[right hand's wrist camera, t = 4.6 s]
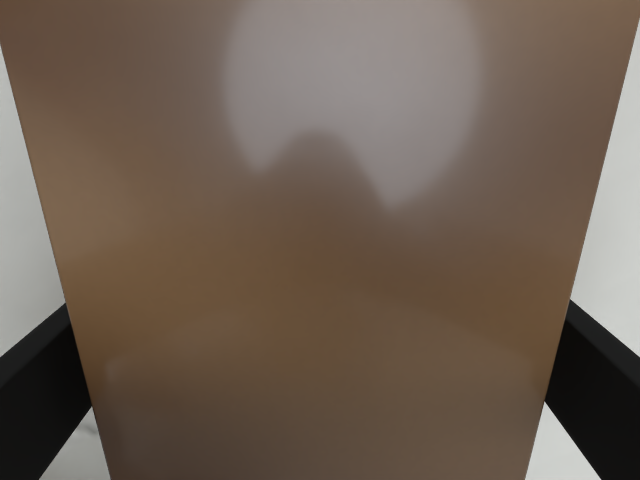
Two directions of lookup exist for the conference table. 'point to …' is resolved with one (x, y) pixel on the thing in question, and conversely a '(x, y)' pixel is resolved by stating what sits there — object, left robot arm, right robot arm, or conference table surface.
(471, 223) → the cabinet
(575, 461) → the conference table surface
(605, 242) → the conference table surface
